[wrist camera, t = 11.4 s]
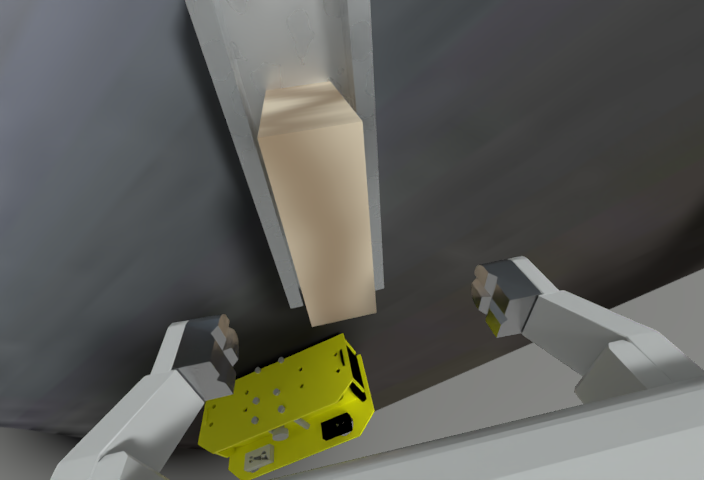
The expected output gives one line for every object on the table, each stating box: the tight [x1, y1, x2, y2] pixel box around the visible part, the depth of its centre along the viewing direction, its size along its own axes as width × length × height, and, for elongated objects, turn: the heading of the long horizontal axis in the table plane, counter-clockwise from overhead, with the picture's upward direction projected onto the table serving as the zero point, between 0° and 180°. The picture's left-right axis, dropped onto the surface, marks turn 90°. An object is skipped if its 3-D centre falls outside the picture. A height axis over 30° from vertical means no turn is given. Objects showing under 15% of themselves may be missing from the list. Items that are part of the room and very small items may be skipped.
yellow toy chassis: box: [198, 333, 375, 480], centre depth 30 cm, size 16×6×8 cm, turn 113°
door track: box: [185, 0, 384, 308], centre depth 19 cm, size 8×20×3 cm, turn 6°
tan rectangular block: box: [257, 81, 376, 327], centre depth 16 cm, size 4×10×8 cm, turn 6°
